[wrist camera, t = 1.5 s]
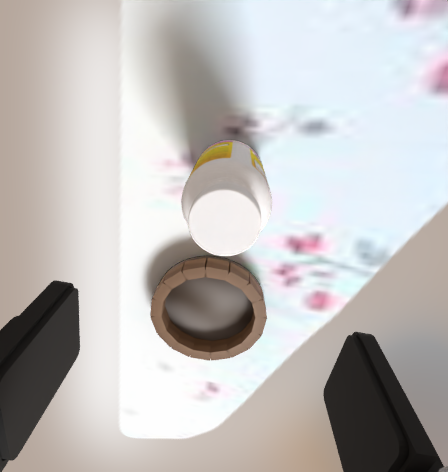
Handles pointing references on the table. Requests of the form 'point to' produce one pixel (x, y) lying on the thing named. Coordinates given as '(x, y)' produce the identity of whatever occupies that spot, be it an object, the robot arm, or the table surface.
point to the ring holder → (209, 308)
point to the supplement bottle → (227, 198)
